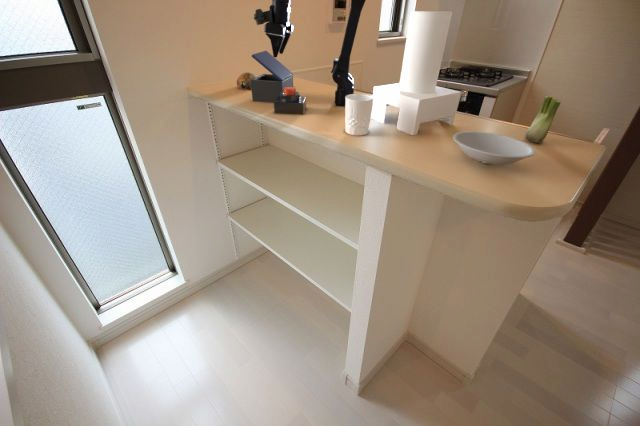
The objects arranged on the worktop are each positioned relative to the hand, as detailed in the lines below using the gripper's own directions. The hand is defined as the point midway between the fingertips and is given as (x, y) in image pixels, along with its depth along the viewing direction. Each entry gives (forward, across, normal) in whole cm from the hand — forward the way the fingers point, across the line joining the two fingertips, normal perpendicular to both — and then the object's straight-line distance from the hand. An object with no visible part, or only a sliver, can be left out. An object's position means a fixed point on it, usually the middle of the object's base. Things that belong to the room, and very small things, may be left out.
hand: (278, 55), depth 107 cm
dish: (+8, +47, +63) cm, 79 cm away
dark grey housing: (+16, -4, -2) cm, 17 cm away
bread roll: (+19, -22, -18) cm, 34 cm away
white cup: (+12, +30, +32) cm, 45 cm away
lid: (+5, -4, -3) cm, 7 cm away
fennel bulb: (+6, +30, +81) cm, 87 cm away
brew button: (+10, +12, +7) cm, 17 cm away
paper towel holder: (+10, +17, +49) cm, 53 cm away
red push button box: (+15, +12, +8) cm, 21 cm away
